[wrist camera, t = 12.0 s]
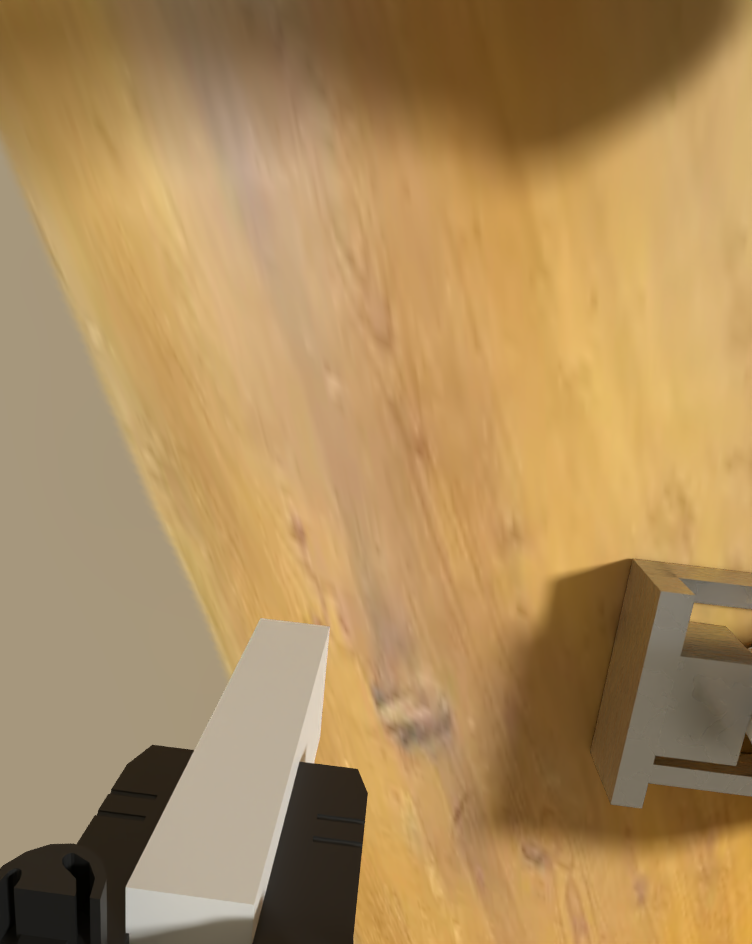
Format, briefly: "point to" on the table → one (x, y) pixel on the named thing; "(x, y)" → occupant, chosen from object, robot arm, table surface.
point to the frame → (675, 687)
